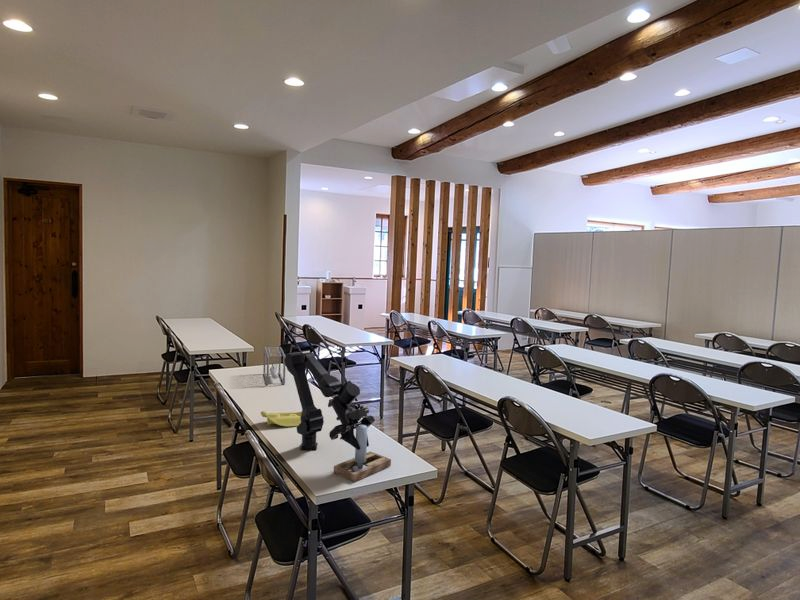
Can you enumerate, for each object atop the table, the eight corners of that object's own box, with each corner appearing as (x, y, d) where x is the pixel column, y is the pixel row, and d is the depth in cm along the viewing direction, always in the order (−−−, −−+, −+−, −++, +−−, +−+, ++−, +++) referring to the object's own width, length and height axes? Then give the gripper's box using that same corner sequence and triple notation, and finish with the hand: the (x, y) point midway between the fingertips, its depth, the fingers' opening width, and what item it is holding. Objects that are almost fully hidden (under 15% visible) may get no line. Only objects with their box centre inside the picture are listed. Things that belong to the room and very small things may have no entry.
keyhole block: (354, 482, 174) (354, 474, 174) (333, 472, 181) (333, 465, 180) (390, 465, 189) (391, 459, 188) (370, 458, 195) (370, 451, 195)
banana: (300, 412, 240) (307, 408, 232) (301, 428, 238) (308, 425, 230) (258, 414, 231) (263, 410, 223) (258, 430, 228) (263, 427, 220)
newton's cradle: (285, 385, 297) (285, 355, 295) (266, 386, 294) (267, 355, 292) (280, 373, 325) (280, 346, 324) (263, 374, 322) (263, 346, 320)
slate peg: (350, 468, 184) (351, 425, 183) (362, 465, 187) (364, 423, 186) (357, 473, 180) (358, 430, 179) (369, 471, 183) (371, 427, 182)
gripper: (335, 404, 177) (357, 443, 171) (372, 394, 191) (393, 430, 185) (320, 420, 183) (340, 459, 177) (356, 409, 197) (376, 445, 191)
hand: (363, 447), depth 182 cm, fingers closed on slate peg, 4 cm apart
